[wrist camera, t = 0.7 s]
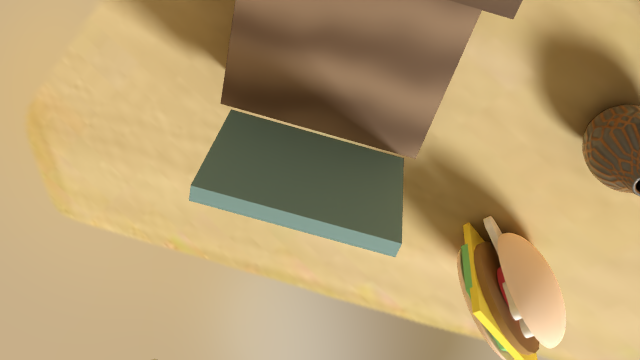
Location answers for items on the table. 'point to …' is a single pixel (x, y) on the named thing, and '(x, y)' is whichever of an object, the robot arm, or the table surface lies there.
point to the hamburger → (510, 293)
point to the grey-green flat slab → (304, 183)
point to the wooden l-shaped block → (351, 63)
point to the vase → (615, 148)
